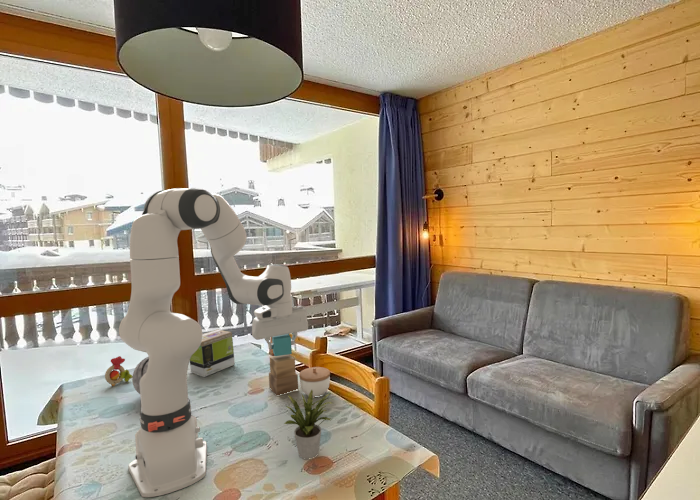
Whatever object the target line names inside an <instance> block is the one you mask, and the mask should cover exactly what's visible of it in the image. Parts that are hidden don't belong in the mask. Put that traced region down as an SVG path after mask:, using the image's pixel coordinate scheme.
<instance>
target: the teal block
mask: <svg viewBox="0 0 700 500" xmlns="http://www.w3.org/2000/svg"><path fill="white" fill-rule="evenodd" d="M291 339H292V336H291V335H290V334H286V335H280V336H275V337H271V343H273V344H274V349H272V353H273V356H281V355H288V354H290V355H293V354H292V353H293V350H292V345H291Z"/></svg>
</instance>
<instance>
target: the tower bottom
mask: <svg viewBox="0 0 700 500" xmlns="http://www.w3.org/2000/svg"><path fill="white" fill-rule="evenodd" d="M268 383H269V384H268V385H269V389H270V388H271V389H272V390H271V389H270V390H271V391H272V393H275V394H276V395H280V394H284V393H287V392H290V391H293V390H296V389H298V390H299V374H298V373H296V375H292V376H288V377H284V378H280V379H276V378H275V377H274V376H273V375H272V374H271V373H270V371H269V372H268ZM275 394H274V395H275ZM276 395H275V396H276ZM284 395H285V394H284Z"/></svg>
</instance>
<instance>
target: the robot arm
mask: <svg viewBox="0 0 700 500" xmlns="http://www.w3.org/2000/svg"><path fill="white" fill-rule="evenodd" d="M143 206H144V207H143V211H142V214H141V215H140V216H138V217H137V218H135V219H134V220H133V222H132V224H131V229H130V235H129V236H130V237H129V238H130V239H129V261H130V264H129V265H130V280H131V282H130V284H131V293H130V299H129V304H128V309H127V312H126V315H125V316H124V317H123V318H122V319H121V321H120V323H119V327H118V334H119V337H120V340H121V341H122V342H123V343H124V344H126V345H127V346H128V347H130V348H131V349H133V350H136V351H138V352H142V353H146V354H147V355H148V356H147V357H149V363H148V368H147V372H146V373H145V374H144V375H143V376H142V378H141V379H140V383H139V384H140V394H139V396H140V397H139V398H140V406H141V408H140V410H139V421H140V427H139V429H138V430H137V431H136V432H135V434H134V436H135V437H134V440H135V441H134V442H135V453H136V454H135V459H133V460H132V461H131V462H129V463H128V467H127V469H128V471H129V474H130V476H131V478H132V480H133V482H134V484H135V486H136V488H137V489H138V490H137V491H138V492H139V493H140V495H141V497H143V498H153V497H158V496H163V495H168V494H171V493H173V492H176V491H180V490H182V489H184V488H186V487H189V486H191V485H193V484H195V483H197V482H199V481H200V480H202V479H203V478H205V477H206V476H207V458H208V457H207V456H208V444H207V441H206V440H203V437H199V433H201V427H200V426H198V420H197V417H195V415H193V414H192V405H191V399H189V393H188V369H189V366H190V358H191V356H192V355H193V354H194V353H195V352H196V351H197V349H198V348H199V346H200V344H201V341H202V334H203V329H202V327H201V325H200V323H199V322H198V321H196V320H195V319H193V318H191V316H187V315H185V314H183V313H177V312H172V311H171V306H172V305H171V304H172V300H173V297H174V295H175V293H176V292H177V291H178V290H179V289H180V286H181V275H180V273H181V271H180V260H179V259H180V258H179V257H180V256H179V247H178V246H179V245H178V237H179V235H180V232H181V231H187V230H194V229H195V230H201V232H202V233H203V235H204V237H205V238H206V240H207V242H208V244H209V245H210V254H211V257H212V259H213V262H214V263H215V266H216V268H217V269H218V271H219V274H220V275H221V277H222V279H223V282H224V283H225V287H226V290H227V291H226V292H227V295H228V298H229V299H230V301H231V302H232V303H233V304H236V305H251V306H260V307H258V308H257V309H255V310H254V311H253V315H254V318H253V320H252V323H251V325H252V326H251V336H252V337H253V339H255V340H257V341H259V340H263V339H264V341H265V342H266V343H267V345H268V350H273V349H274V344H273V343H272V342H270V341H271V338H272V337H275V336H280V335H286V334H289V335H290V334H291V346H294V345H296V339H297V337H298V333H300V332H305V331H307V330H308V329H309V322H308V310H307V307H306V306H304V305H297V306H293V298H292V296H291V291H292V278H291V273H290V269H289V267H288V266H287V265H285V264H277V263H275V264H268V265H267V266H266V268H265V270H264V271H263V272H262V273H261V274H260V275H258V276H252V275H248V274H245V273H243V272H241V269H240V268H239V265H238V264H237V261H236V258H235V256H236V255H237V254H238V253H239V252H240V251H241V250H242V249H243V248H244V247H245V244H246V242H247V236H248V235H247V232H246V231H247V230H246V228H245V227H244V225H243V223H242V222H241V220H240V218H239V216H238V215H237V214H236V212H235V210H234V209H233V208H232V207H231V205H230V204H229V202H228V201H227V200H226V199H225V198H224V197H223V196H222V195H220V194H218V193H212V192H210V191H209V190H206V189H203V188H199V187H191V188H185V187H184V188H182V187H176V188H171V189H170V188H169V189H166V190H159V191H156V192H154V193H151V194H150V195H149V196H148V197H147V199H146V201H145V203H144V205H143Z"/></svg>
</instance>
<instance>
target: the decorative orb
mask: <svg viewBox="0 0 700 500" xmlns="http://www.w3.org/2000/svg"><path fill="white" fill-rule="evenodd" d="M148 363H149V356H146V357H145V358H143V359H142V360H141V361H140V362H139V363H138V364H137V365H136V366H135V368H134V370H133V373H132V376H133V377H132V378H131V380H132V386H133V388H134V390H135V392H137V393H138V394H139V395H140V384H139V383H140V379H141V378H142V376H143V375H144V374H145V373H146V372H147V368H148Z"/></svg>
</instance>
